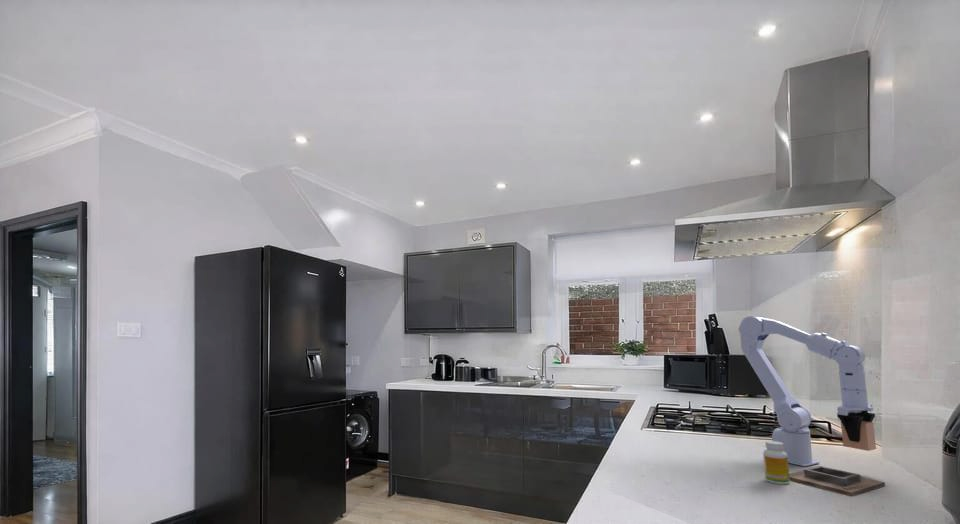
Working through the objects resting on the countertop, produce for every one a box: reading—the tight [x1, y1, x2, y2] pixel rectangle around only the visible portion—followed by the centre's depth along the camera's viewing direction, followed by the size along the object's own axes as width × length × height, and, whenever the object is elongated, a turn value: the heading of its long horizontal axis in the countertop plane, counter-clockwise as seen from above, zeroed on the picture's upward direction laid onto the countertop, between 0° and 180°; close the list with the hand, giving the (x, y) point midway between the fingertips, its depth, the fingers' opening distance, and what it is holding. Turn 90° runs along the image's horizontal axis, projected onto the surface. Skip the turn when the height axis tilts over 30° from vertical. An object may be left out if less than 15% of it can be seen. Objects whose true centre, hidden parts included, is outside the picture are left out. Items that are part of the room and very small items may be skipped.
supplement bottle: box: [762, 440, 791, 485], centre depth 127 cm, size 5×5×10 cm
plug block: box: [840, 421, 877, 452], centre depth 134 cm, size 6×4×7 cm, turn 29°
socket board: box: [789, 465, 886, 497], centre depth 126 cm, size 16×16×2 cm
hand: (858, 440), depth 134 cm, fingers closed on plug block, 4 cm apart
